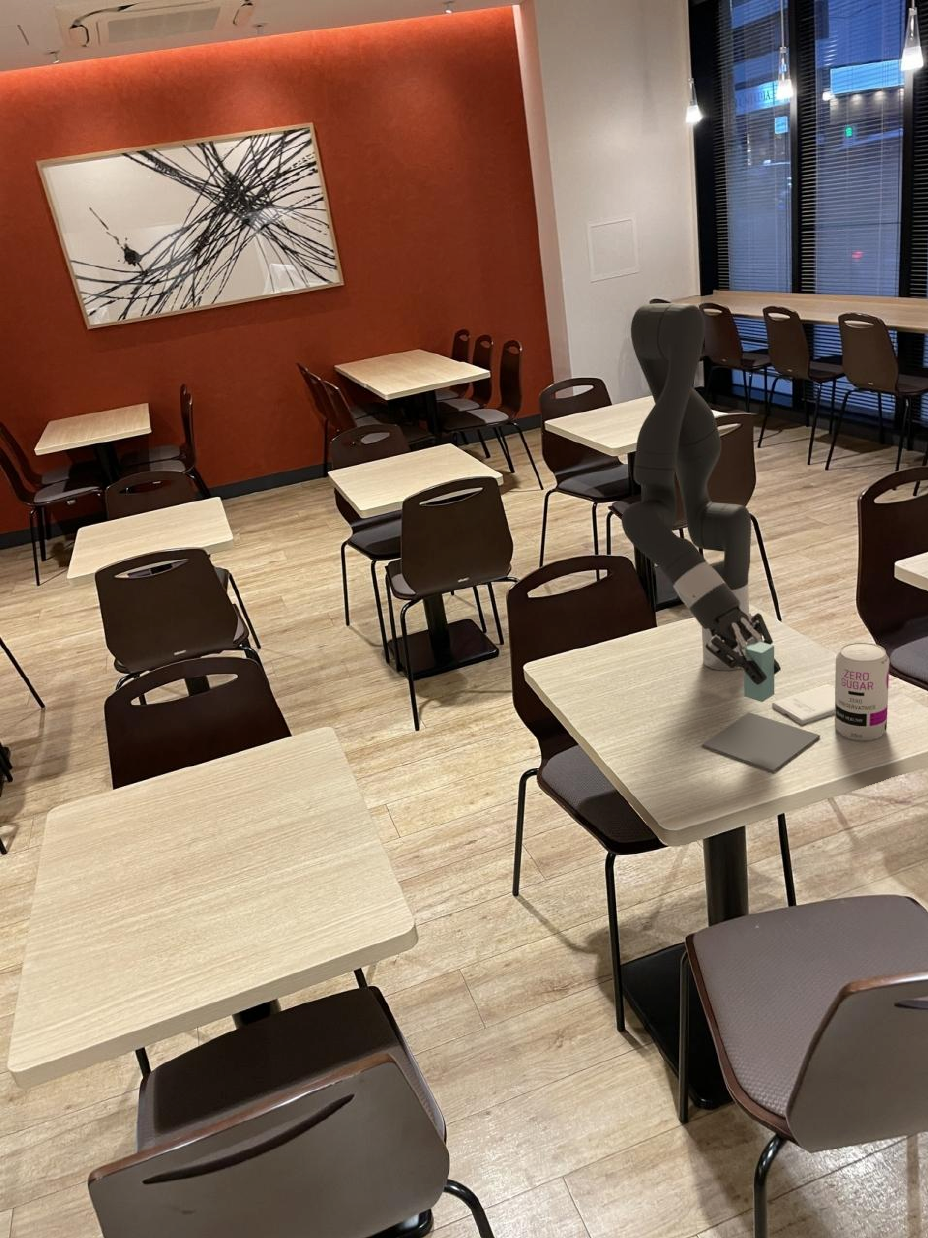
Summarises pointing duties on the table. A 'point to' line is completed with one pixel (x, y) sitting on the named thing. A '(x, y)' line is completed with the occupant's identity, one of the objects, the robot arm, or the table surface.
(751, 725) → the gray mat
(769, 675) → the teal block
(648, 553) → the robot arm
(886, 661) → the supplement can
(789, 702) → the external hard drive
